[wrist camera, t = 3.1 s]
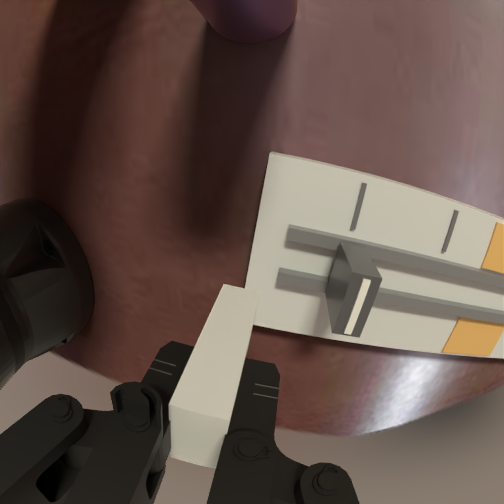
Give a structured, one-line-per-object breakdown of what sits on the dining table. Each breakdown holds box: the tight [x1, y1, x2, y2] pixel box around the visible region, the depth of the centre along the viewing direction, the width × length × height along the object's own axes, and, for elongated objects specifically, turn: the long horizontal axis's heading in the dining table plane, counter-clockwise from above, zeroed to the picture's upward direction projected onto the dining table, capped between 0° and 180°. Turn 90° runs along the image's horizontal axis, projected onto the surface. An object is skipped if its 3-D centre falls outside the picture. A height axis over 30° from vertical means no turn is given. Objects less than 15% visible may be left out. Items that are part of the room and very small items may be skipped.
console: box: [245, 152, 504, 358], centre depth 20 cm, size 30×12×4 cm, turn 80°
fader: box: [325, 242, 383, 338], centre depth 18 cm, size 2×4×6 cm, turn 170°
